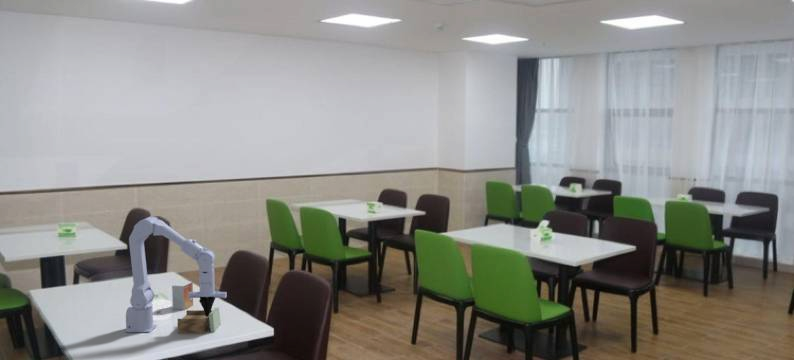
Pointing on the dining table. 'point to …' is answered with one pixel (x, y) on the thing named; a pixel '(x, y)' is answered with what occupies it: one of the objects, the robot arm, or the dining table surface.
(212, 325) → the cover plate
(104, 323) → the dining table surface
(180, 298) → the small box
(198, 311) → the walnut box
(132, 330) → the robot arm
